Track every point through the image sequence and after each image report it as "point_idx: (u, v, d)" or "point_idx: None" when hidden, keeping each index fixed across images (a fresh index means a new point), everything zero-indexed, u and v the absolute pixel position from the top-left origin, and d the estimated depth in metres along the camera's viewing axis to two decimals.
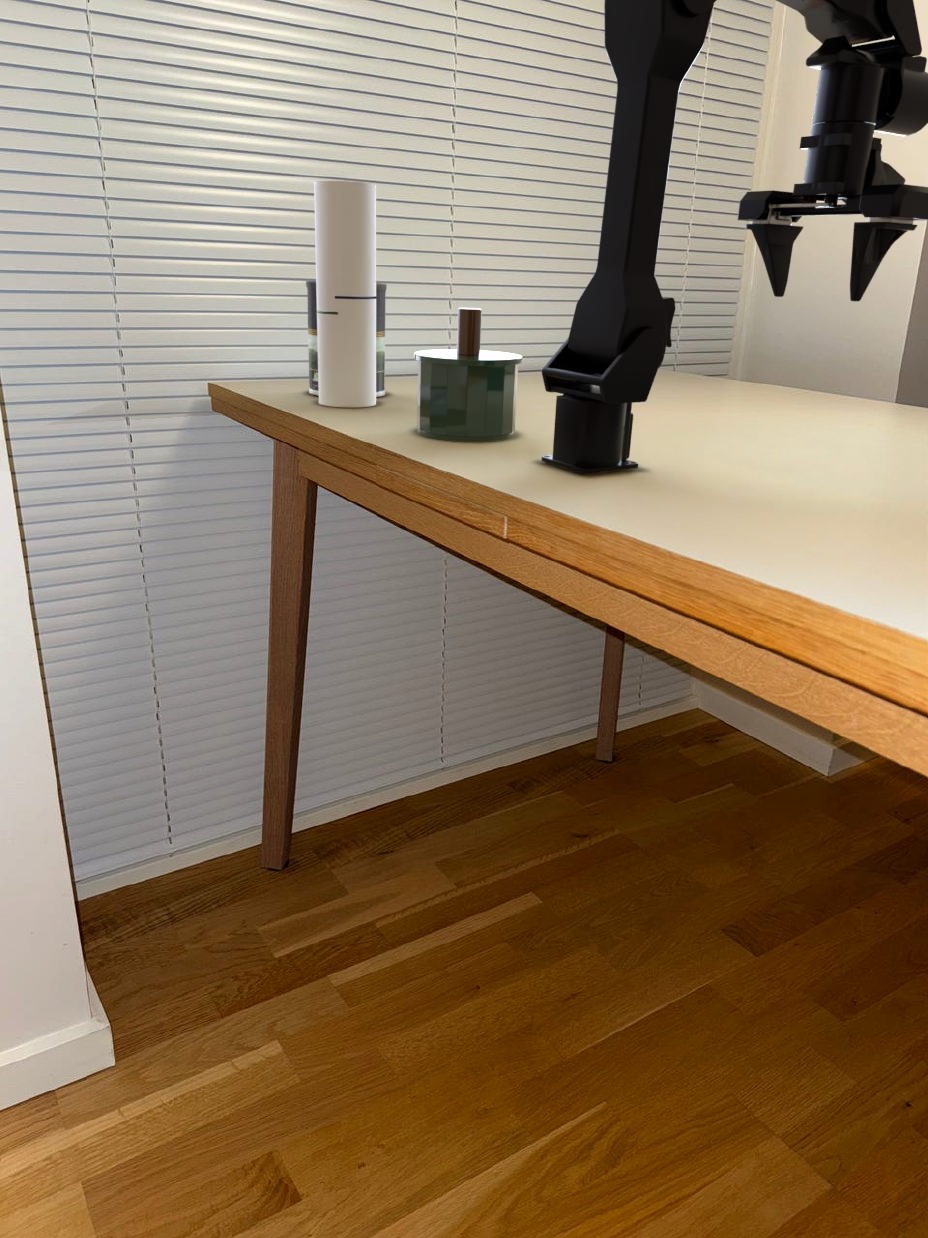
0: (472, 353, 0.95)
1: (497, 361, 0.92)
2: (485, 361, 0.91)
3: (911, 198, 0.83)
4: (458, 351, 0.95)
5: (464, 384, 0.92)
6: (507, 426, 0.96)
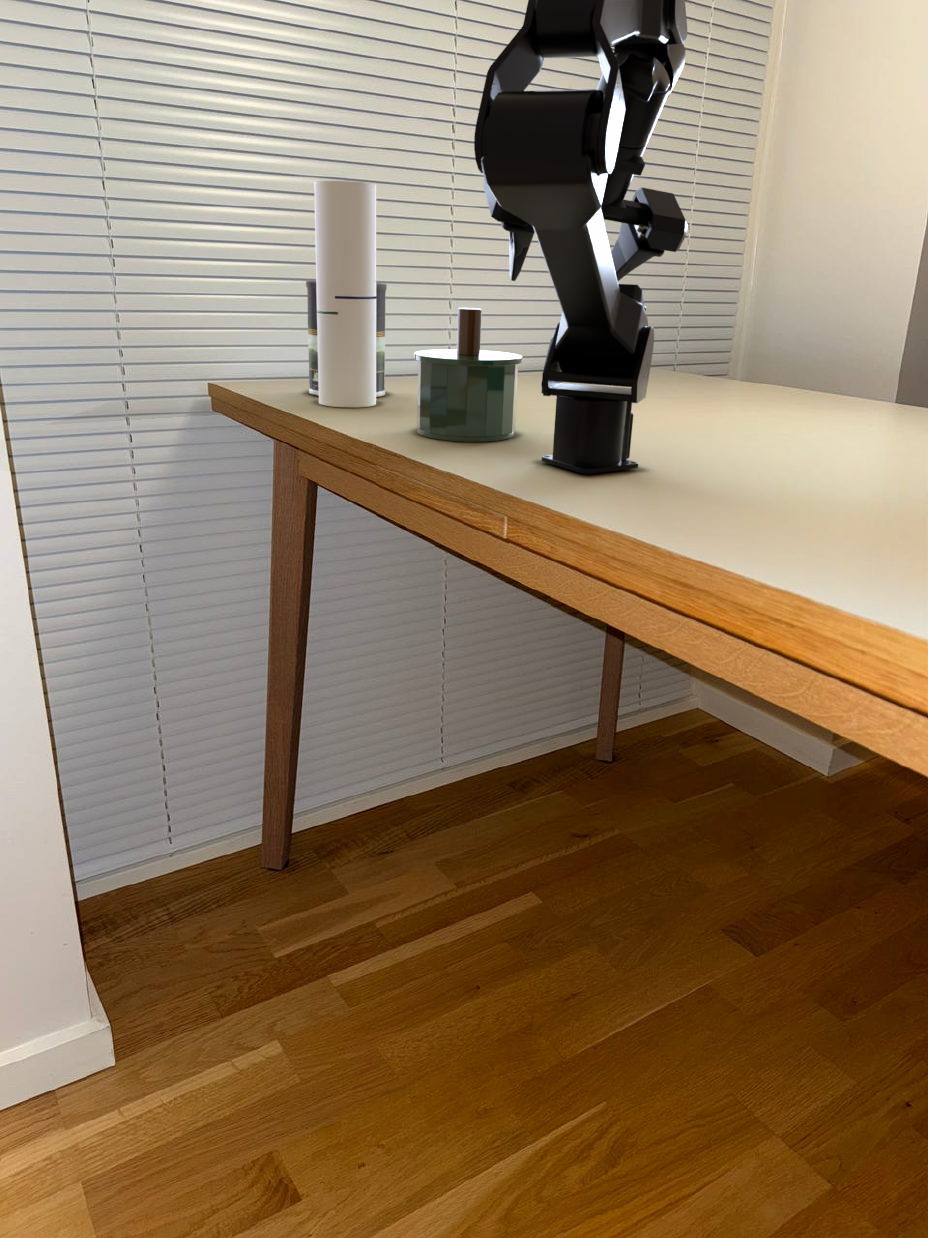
0: (472, 353, 0.95)
1: (497, 361, 0.92)
2: (485, 361, 0.91)
3: None
4: (458, 351, 0.95)
5: (464, 384, 0.92)
6: (507, 426, 0.96)
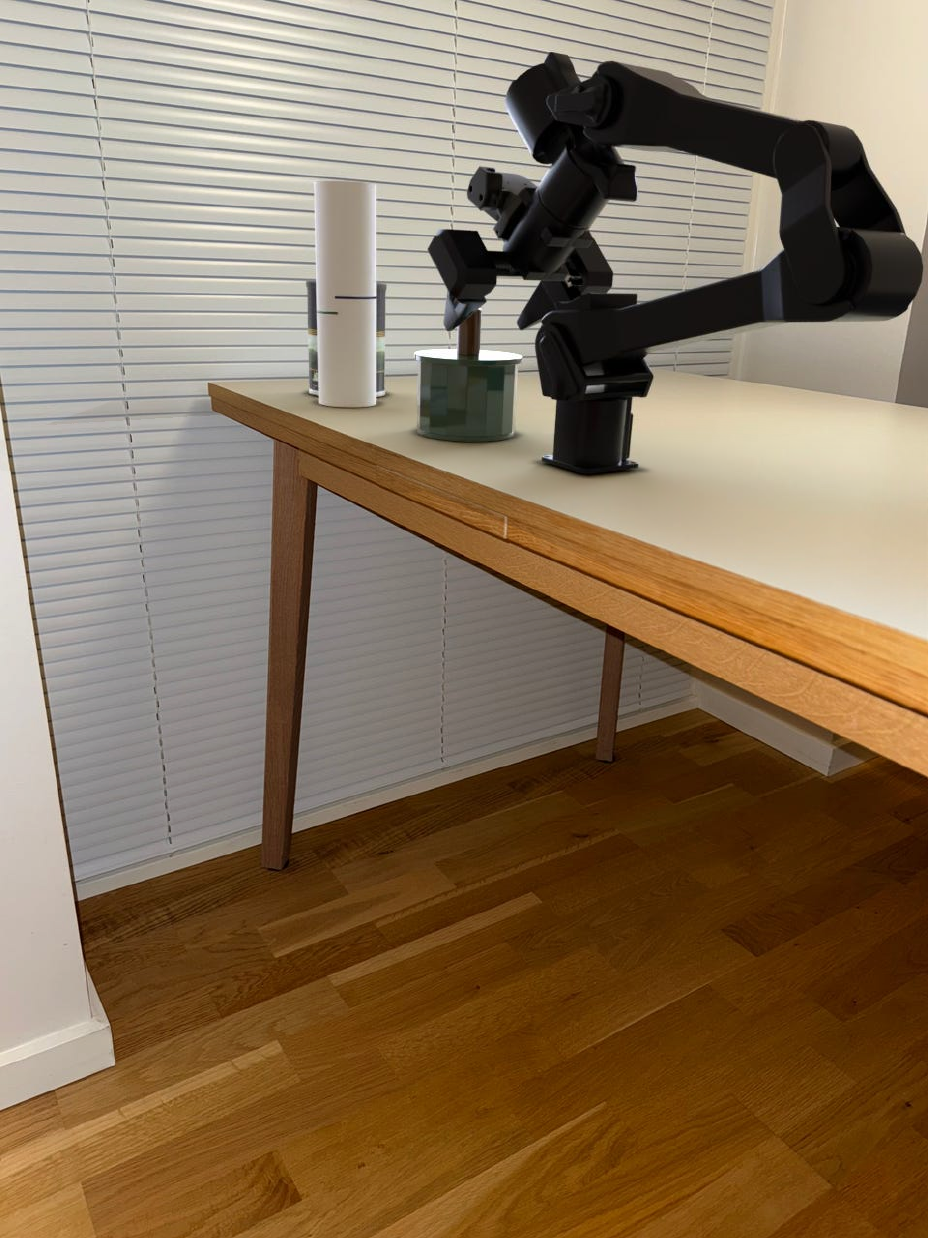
0: (472, 353, 0.95)
1: (497, 361, 0.92)
2: (485, 361, 0.91)
3: None
4: (458, 351, 0.95)
5: (464, 384, 0.92)
6: (507, 426, 0.96)
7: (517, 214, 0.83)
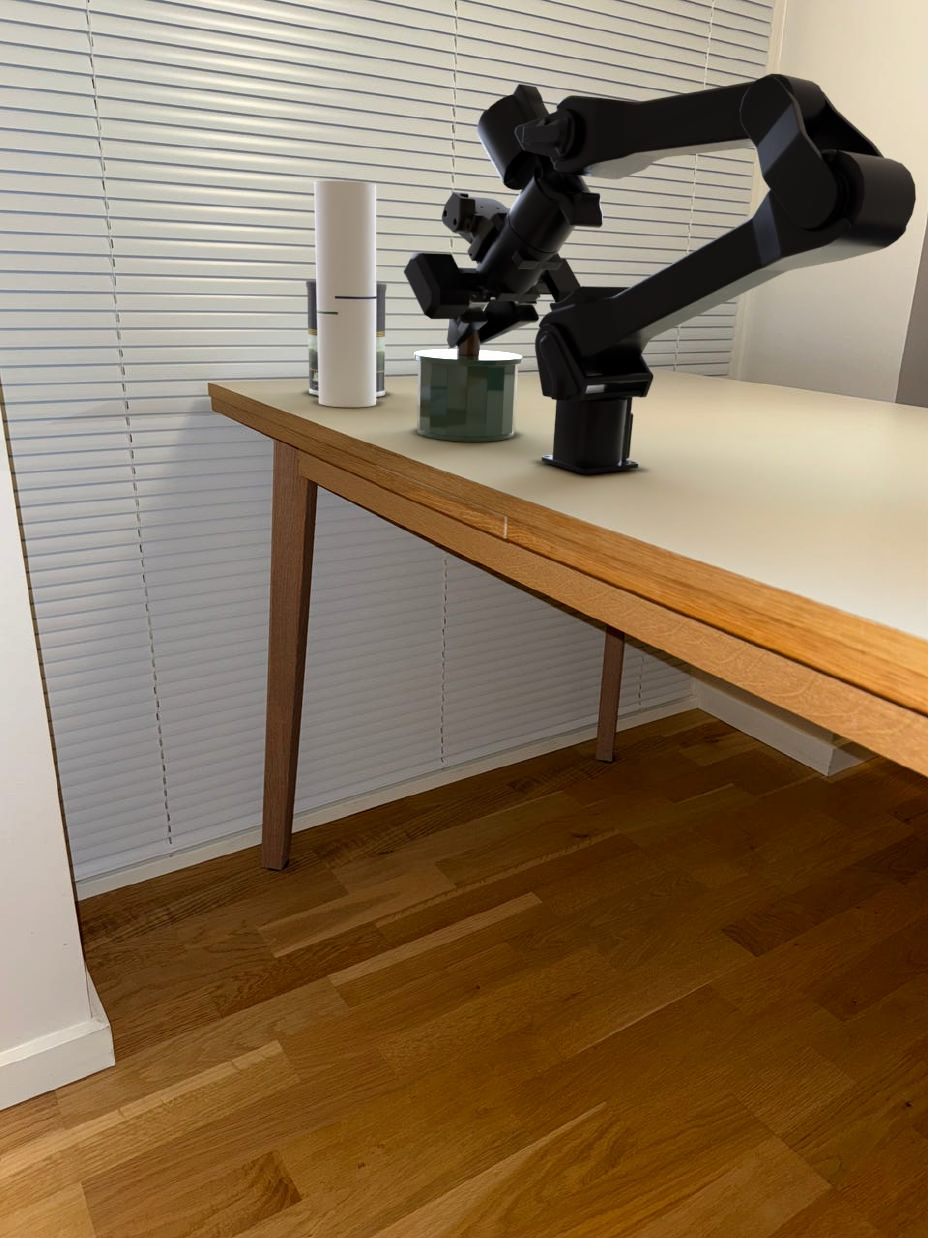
0: (472, 353, 0.95)
1: (497, 361, 0.92)
2: (485, 361, 0.91)
3: None
4: (458, 351, 0.95)
5: (464, 384, 0.92)
6: (507, 426, 0.96)
7: (489, 237, 0.87)
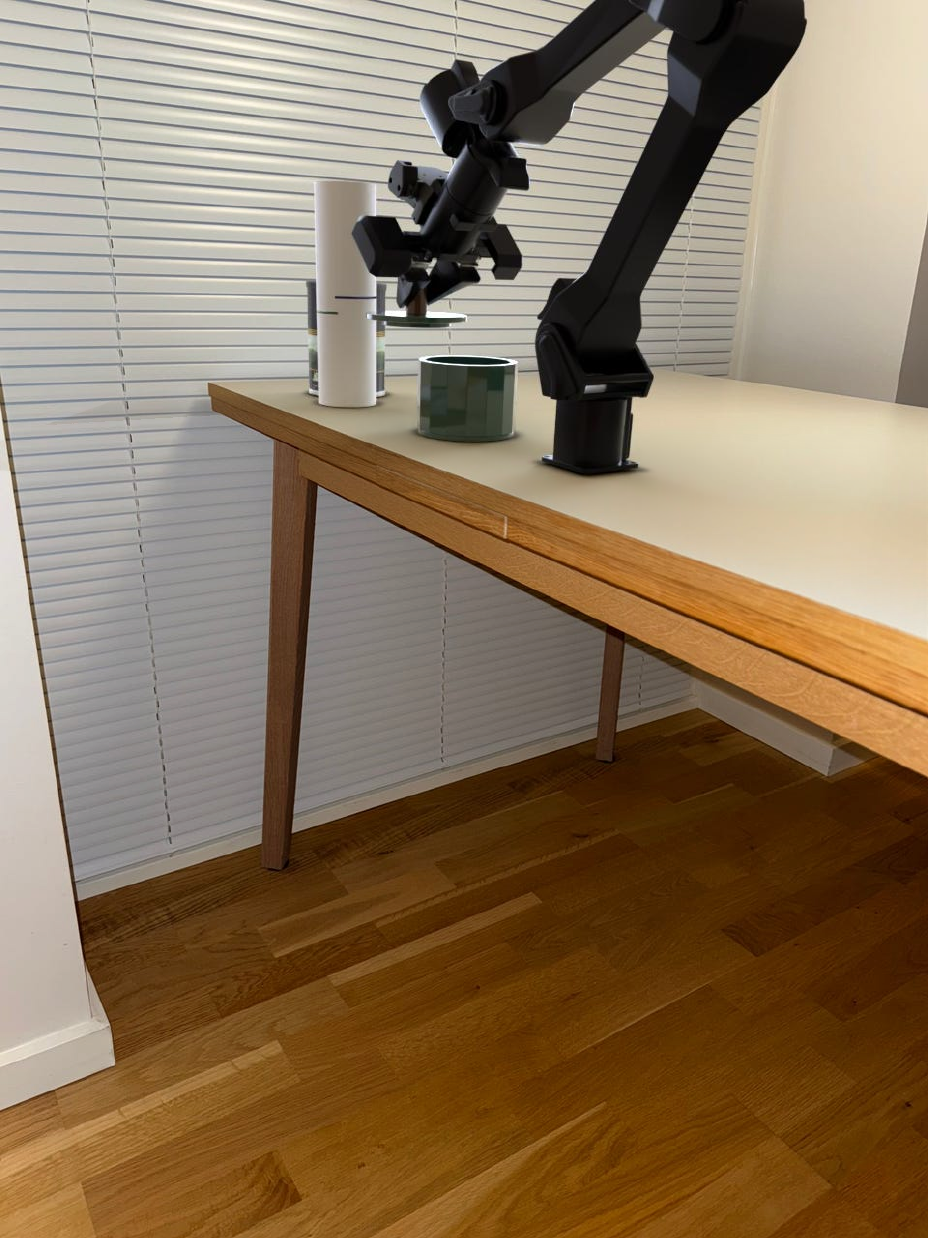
0: (419, 312, 1.02)
1: (440, 318, 0.99)
2: (429, 318, 0.98)
3: None
4: (406, 311, 1.02)
5: (464, 384, 0.92)
6: (507, 426, 0.96)
7: (430, 202, 0.94)
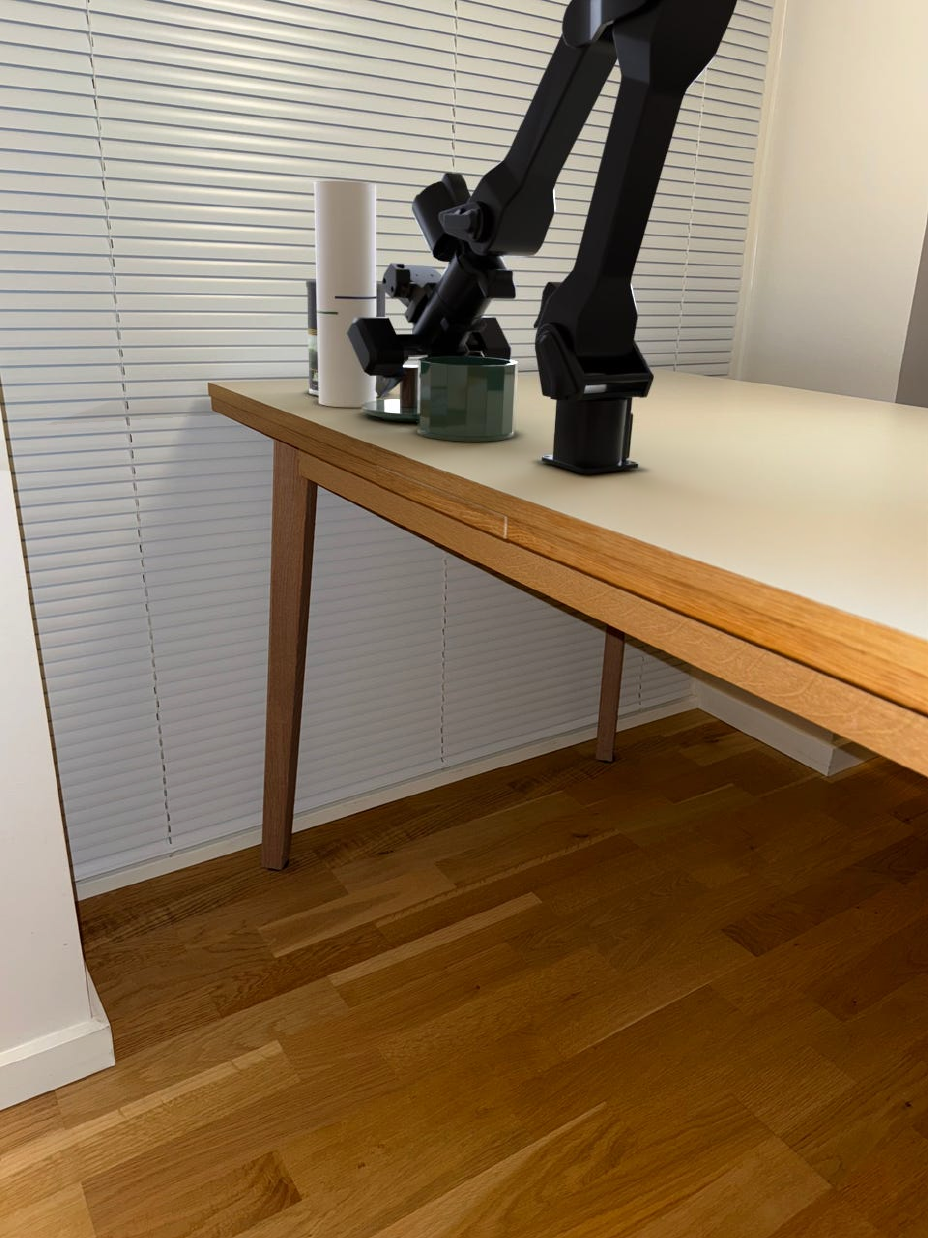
0: (412, 405, 1.07)
1: None
2: None
3: None
4: (400, 403, 1.07)
5: (464, 384, 0.92)
6: (507, 426, 0.96)
7: (422, 303, 0.98)
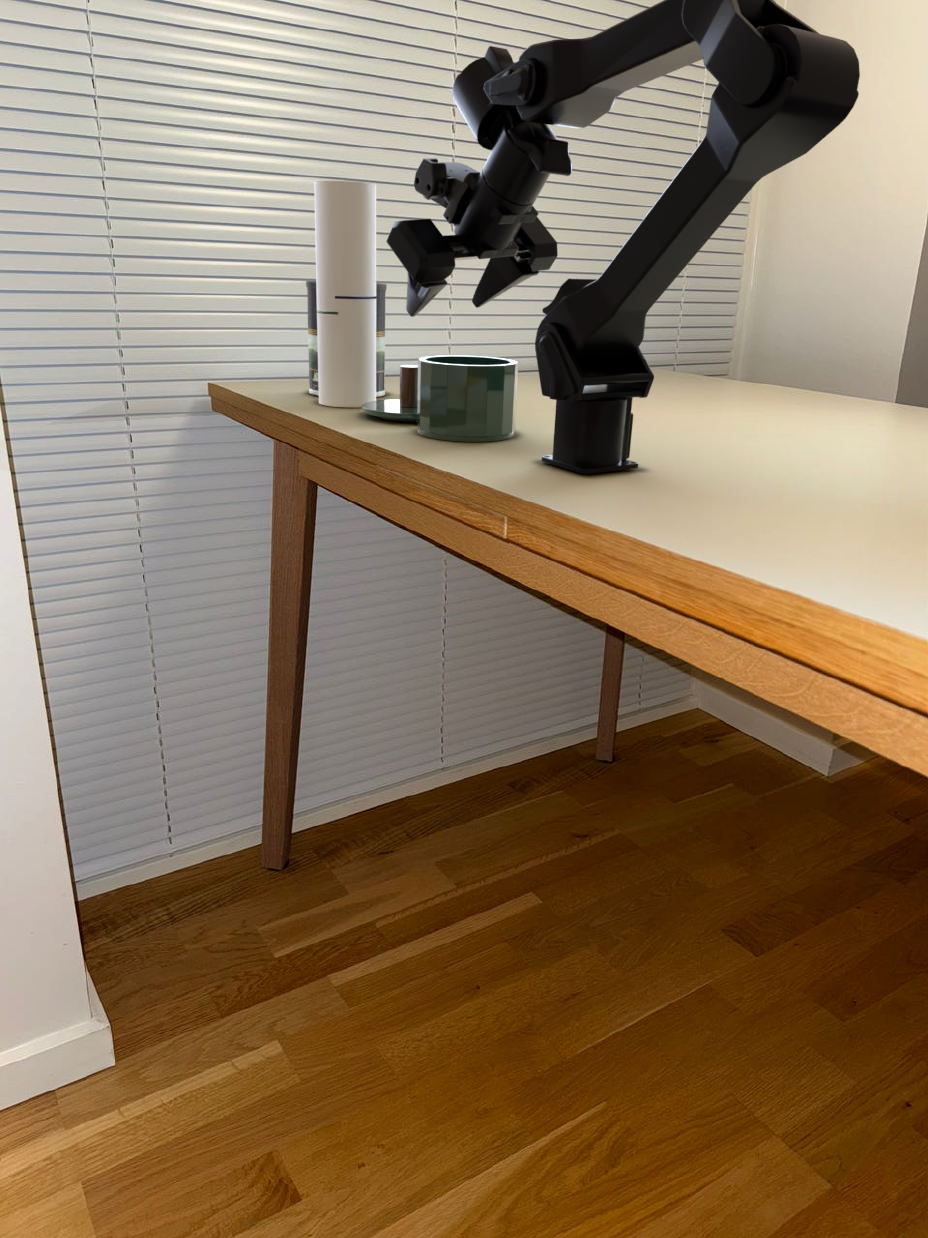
0: (412, 405, 1.07)
1: None
2: None
3: None
4: (400, 403, 1.07)
5: (464, 384, 0.92)
6: (507, 426, 0.96)
7: (464, 198, 0.89)
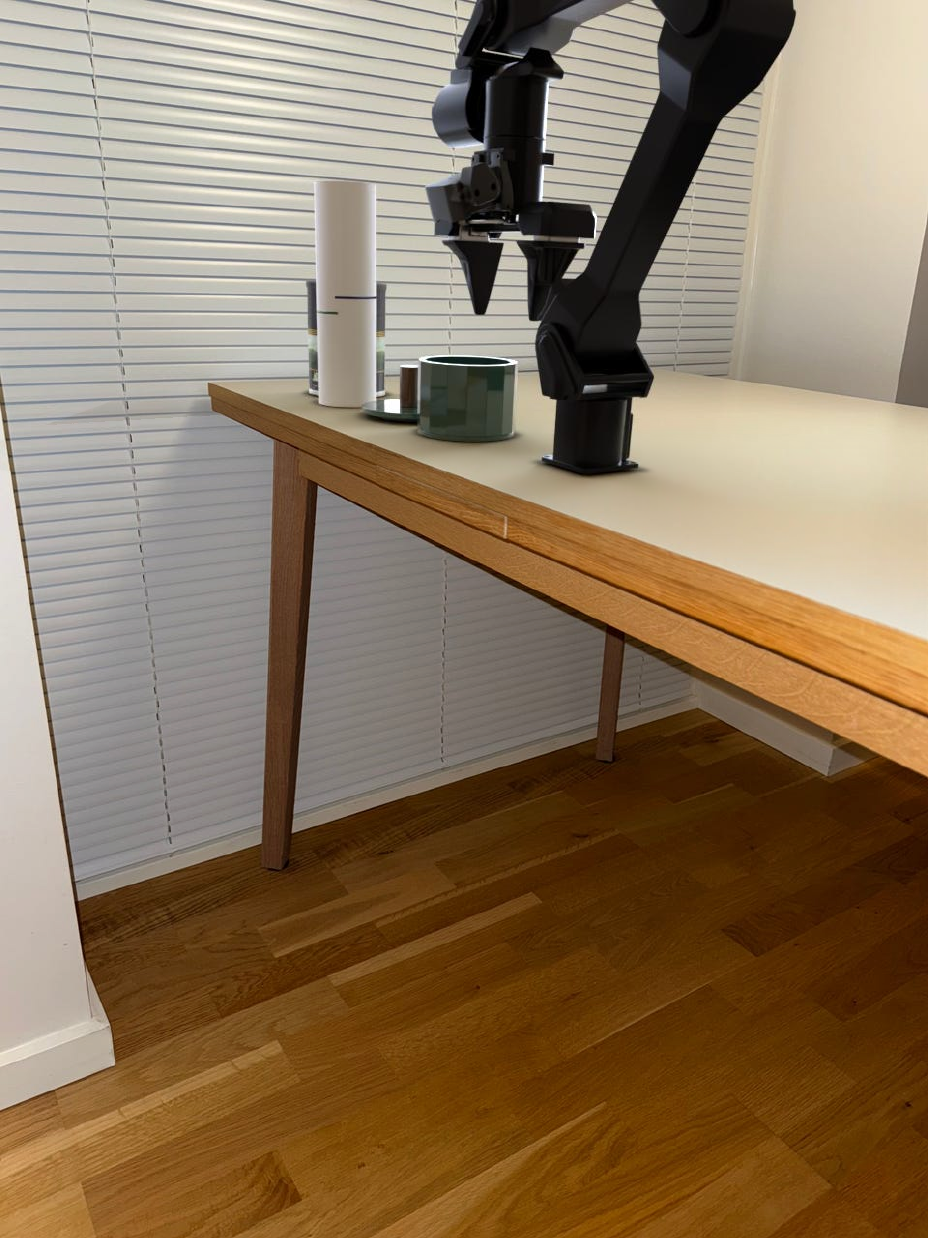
0: (412, 405, 1.07)
1: None
2: None
3: None
4: (400, 403, 1.07)
5: (464, 384, 0.92)
6: (507, 426, 0.96)
7: None
